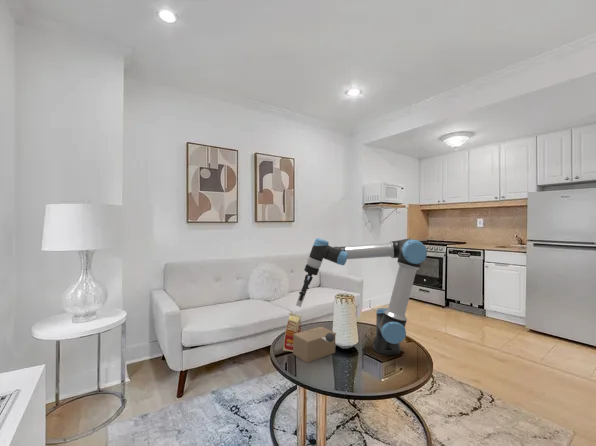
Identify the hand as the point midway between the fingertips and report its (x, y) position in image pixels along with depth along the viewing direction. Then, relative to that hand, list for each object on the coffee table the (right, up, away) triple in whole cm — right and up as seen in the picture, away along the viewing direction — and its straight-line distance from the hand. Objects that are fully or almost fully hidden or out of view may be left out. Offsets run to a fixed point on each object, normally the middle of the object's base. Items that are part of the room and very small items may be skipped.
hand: (299, 302), depth 158 cm
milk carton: (-3, -28, +7) cm, 29 cm away
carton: (+8, -28, +1) cm, 29 cm away
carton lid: (+11, -18, -2) cm, 21 cm away
